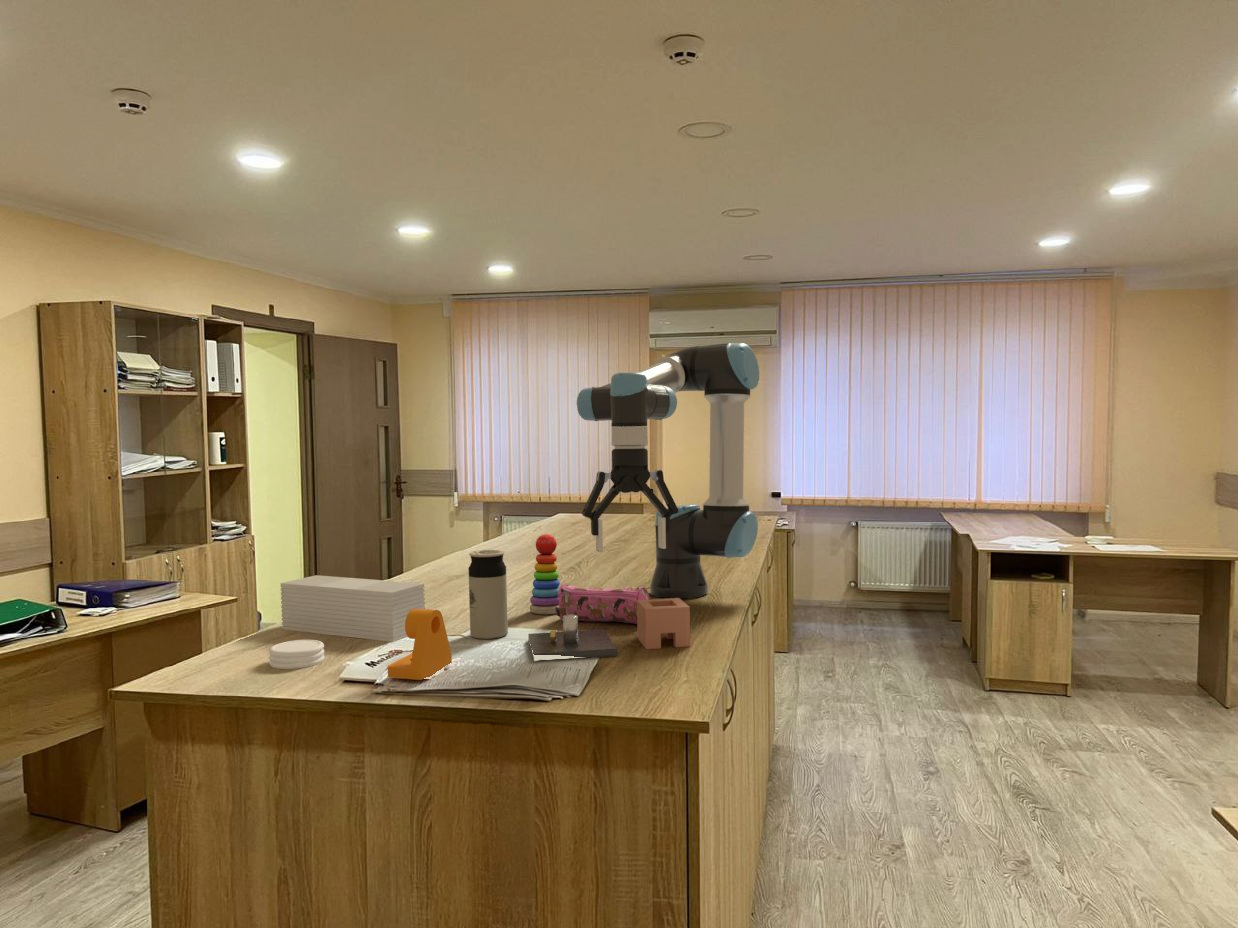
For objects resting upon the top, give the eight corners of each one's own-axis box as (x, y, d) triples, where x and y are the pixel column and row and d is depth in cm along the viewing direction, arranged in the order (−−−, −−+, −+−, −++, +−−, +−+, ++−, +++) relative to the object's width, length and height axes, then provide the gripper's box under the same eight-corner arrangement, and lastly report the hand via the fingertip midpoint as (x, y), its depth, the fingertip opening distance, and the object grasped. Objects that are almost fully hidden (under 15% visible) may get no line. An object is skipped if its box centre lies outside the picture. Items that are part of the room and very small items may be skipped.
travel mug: (507, 629, 187) (504, 548, 186) (508, 638, 179) (506, 553, 178) (470, 631, 185) (468, 550, 184) (470, 640, 177) (467, 555, 177)
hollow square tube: (679, 635, 178) (678, 597, 178) (690, 646, 169) (689, 606, 169) (637, 638, 177) (636, 600, 176) (646, 649, 168) (645, 609, 167)
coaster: (296, 654, 170) (295, 637, 170) (335, 658, 167) (335, 641, 166) (257, 667, 161) (257, 649, 161) (298, 672, 157) (297, 654, 157)
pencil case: (552, 624, 191) (551, 585, 191) (568, 615, 200) (567, 578, 200) (642, 630, 184) (641, 590, 184) (655, 620, 193) (654, 582, 192)
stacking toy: (558, 615, 199) (556, 536, 198) (525, 614, 201) (523, 536, 200) (566, 608, 207) (564, 532, 206) (535, 607, 209) (533, 532, 208)
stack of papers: (282, 630, 192) (280, 583, 191) (317, 620, 201) (316, 575, 201) (393, 643, 178) (391, 592, 178) (425, 631, 188) (424, 583, 187)
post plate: (528, 640, 176) (527, 609, 176) (604, 636, 179) (603, 605, 179) (533, 661, 161) (533, 627, 160) (616, 656, 163) (616, 622, 163)
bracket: (417, 664, 160) (415, 602, 160) (451, 667, 158) (449, 603, 158) (385, 681, 150) (383, 614, 150) (421, 684, 148) (419, 616, 147)
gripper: (680, 446, 182) (681, 544, 183) (566, 448, 176) (568, 550, 176) (692, 446, 175) (693, 548, 176) (574, 449, 168) (576, 555, 169)
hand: (631, 549), depth 176 cm, fingers open, 13 cm apart
